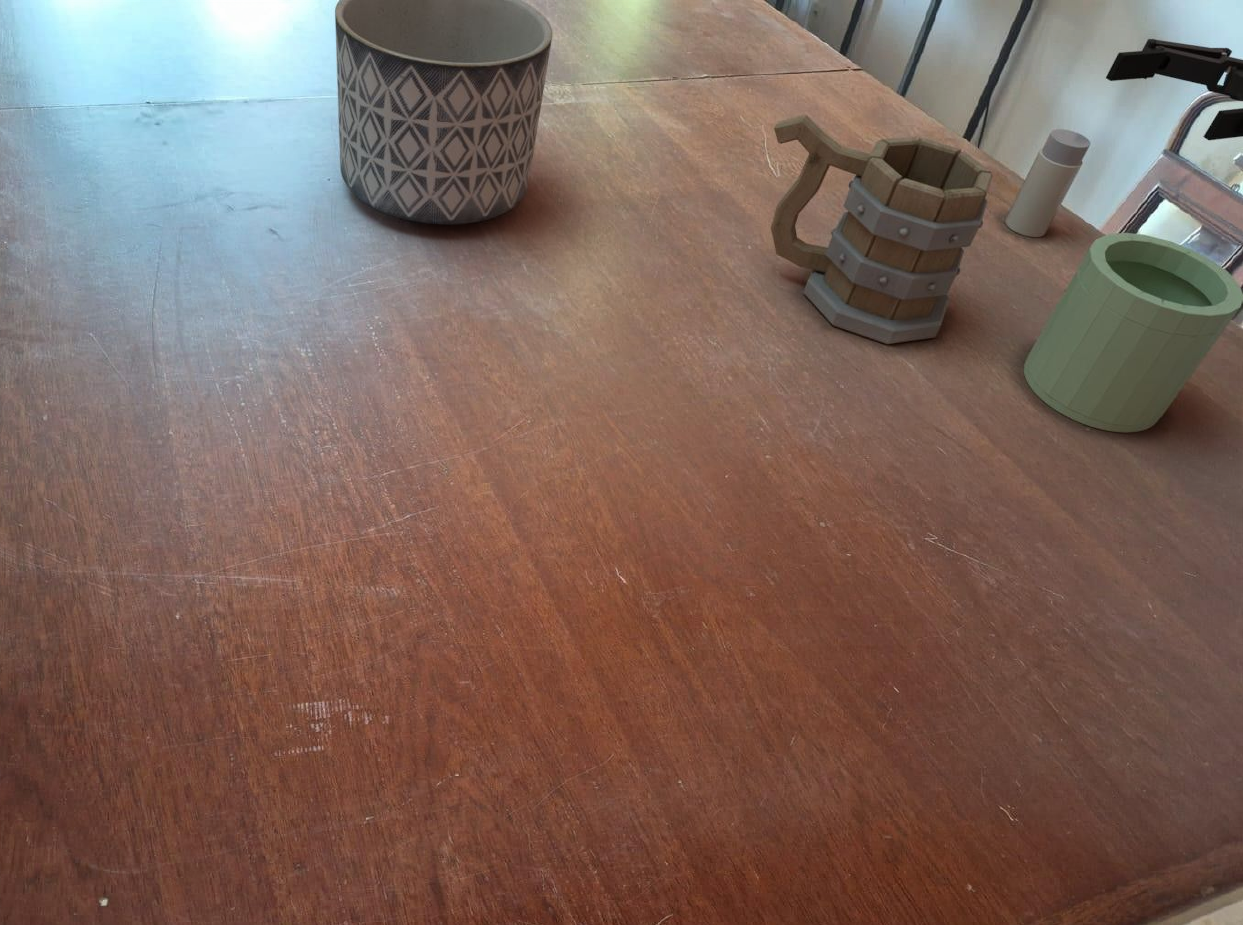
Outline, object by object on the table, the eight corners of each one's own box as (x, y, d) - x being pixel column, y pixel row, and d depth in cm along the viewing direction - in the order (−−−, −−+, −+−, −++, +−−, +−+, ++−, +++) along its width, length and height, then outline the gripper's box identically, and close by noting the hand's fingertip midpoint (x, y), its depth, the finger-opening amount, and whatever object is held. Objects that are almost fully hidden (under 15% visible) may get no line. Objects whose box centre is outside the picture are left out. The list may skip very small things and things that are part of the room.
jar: (1127, 355, 99) (1202, 240, 91) (1183, 438, 91) (1271, 321, 82) (1005, 342, 98) (1069, 226, 90) (1050, 426, 90) (1125, 306, 81)
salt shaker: (1037, 218, 117) (1083, 130, 109) (1051, 239, 114) (1099, 150, 106) (999, 214, 116) (1042, 125, 109) (1012, 234, 113) (1057, 145, 106)
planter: (500, 261, 98) (521, 83, 86) (305, 212, 100) (300, 32, 88) (549, 170, 111) (573, 5, 99) (376, 129, 113) (379, -37, 101)
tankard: (948, 293, 103) (1019, 146, 92) (928, 359, 95) (1003, 206, 84) (754, 230, 107) (799, 82, 97) (717, 287, 99) (763, 133, 88)
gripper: (1372, 169, 112) (1236, 188, 105) (1190, 67, 127) (1060, 78, 119) (1425, 99, 106) (1285, 114, 99) (1228, 1, 121) (1094, 8, 114)
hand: (1162, 95), depth 109 cm, fingers open, 13 cm apart
